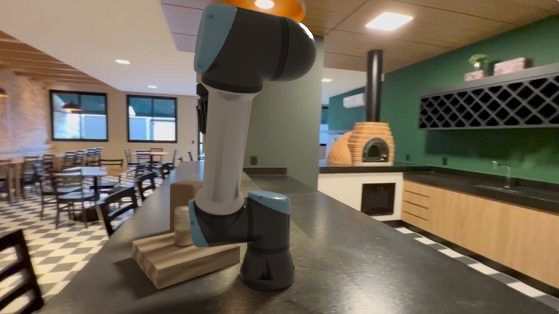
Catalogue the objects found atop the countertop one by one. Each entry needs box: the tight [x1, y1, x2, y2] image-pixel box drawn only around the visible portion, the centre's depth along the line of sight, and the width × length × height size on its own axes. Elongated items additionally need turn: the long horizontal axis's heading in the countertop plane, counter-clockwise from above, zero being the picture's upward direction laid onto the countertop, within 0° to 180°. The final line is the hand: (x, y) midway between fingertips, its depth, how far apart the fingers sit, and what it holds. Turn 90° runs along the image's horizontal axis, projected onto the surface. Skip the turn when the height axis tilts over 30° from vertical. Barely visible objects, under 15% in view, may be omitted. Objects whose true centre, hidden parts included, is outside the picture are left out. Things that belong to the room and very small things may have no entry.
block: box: [169, 179, 203, 233], centre depth 108 cm, size 10×10×20 cm
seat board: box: [131, 199, 241, 290], centre depth 83 cm, size 24×24×16 cm
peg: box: [174, 206, 193, 248], centre depth 83 cm, size 6×6×16 cm
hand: (206, 152), depth 95 cm, fingers closed
